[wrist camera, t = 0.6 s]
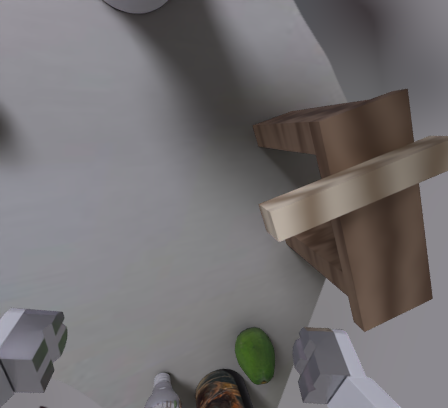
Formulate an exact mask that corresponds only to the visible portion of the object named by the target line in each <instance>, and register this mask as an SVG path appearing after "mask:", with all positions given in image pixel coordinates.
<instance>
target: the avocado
mask: <svg viewBox="0 0 448 408" xmlns="http://www.w3.org/2000/svg"><path fill="white" fill-rule="evenodd" d="M235 353H236V358H237V360H238V363H239V365H240V367H241V368H242V370H243V371H244V372H245V374H246V375H247V376H248V377H249V379H250V380H251V381H252V382H253V383H254V384H257V385H258V384H265V383H268V382H269V381H270V380H271V379H272V377H273V375H274V367H275V353H274V348H273V345H272V343H271V341H270V339H269V337H268V336H267V335H266V334H265V333H264V332H263V331H262V330H261V329H260V328H256V327H252V328H248V329H246V330H244V331H242V332H241V333H240V334H239V336H238V337H237V340H236V344H235Z"/></svg>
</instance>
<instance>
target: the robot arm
mask: <svg viewBox="0 0 448 408" xmlns="http://www.w3.org/2000/svg"><path fill="white" fill-rule="evenodd" d="M104 1H105V2H106V3H108V4H109V5H111V6H113V7H114V8H116V9H119V10H121V11H124V12H129V13H147V12H151V11H153V10H156V9H158V8H159V7H161V6H162V5H163V4H165V3H166V2H167V1H168V0H104ZM63 320H64V315H63V312H59V311H47V310H34V309H23V308H11V309H9V310H8V311H7V312H6V313H5V314H4V315H3V317H2V318H1V320H0V407H1V406H2V405H3V404H4V403H6V402H7V400H9V399H10V398H11V397H12V396H13V395H14V392H30V393H32V392H33V393H44V392H45V389H46V387H47V385H48V383H49V381H50V379H51V377H52V374H53V372H54V367H53V362H54V361H56V360H57V359H58V358H59V357H61V355H62V352H63V350H64V348H65V344H66V340H67V327H66V326H65V325H64V324H63V323H62V322H63ZM299 335H300V338H299V339H297V340H296V341H295V343H294V346H293V362H294V366H295V369H296V370H297V371H298V372H299V373H300V375H301V376H300V378H299V381H298V383H299V388H300V392H301V396H302V400H303V403H317V404H328V405H327V406H328V408H401V407H400V406H399V405H398V404H397V403H396V402H395V401H394V400H393V399H392V398H391V397H390V396H389V395H388V394H387V393H386V392H385V391H384V390H383V389H382V388H381V387H380V386H379V385H378V384H377V383H376V382H375V381H374V380H373V379H372V378H369V377H366V375H365V372H364V370H363V368H362V365H361V363H360V361H359V358H358V357H357V354H356V352H355V349H354V347H353V345H352V342H351V340H350V338H349V336H348V333H347V332H346V331H345V330H342V329H341V330H340V329H329V328H309V327H303V328H302V329H301V330H300V332H299Z"/></svg>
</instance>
